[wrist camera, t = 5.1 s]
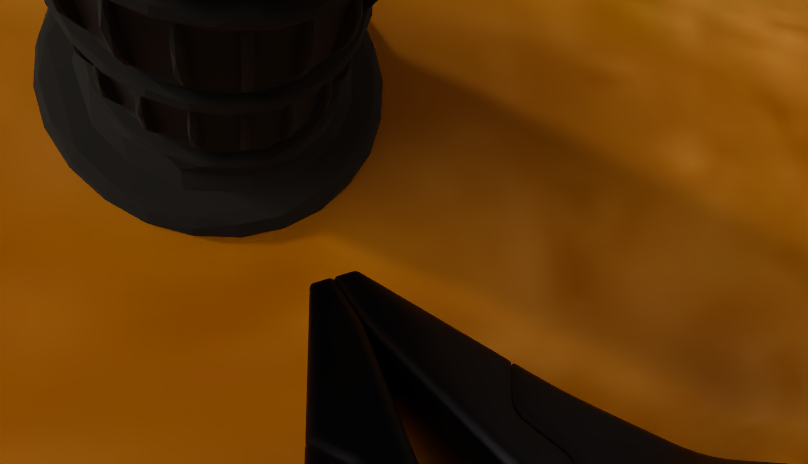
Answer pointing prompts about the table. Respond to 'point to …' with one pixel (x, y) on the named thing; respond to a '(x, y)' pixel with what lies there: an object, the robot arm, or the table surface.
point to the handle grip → (211, 105)
